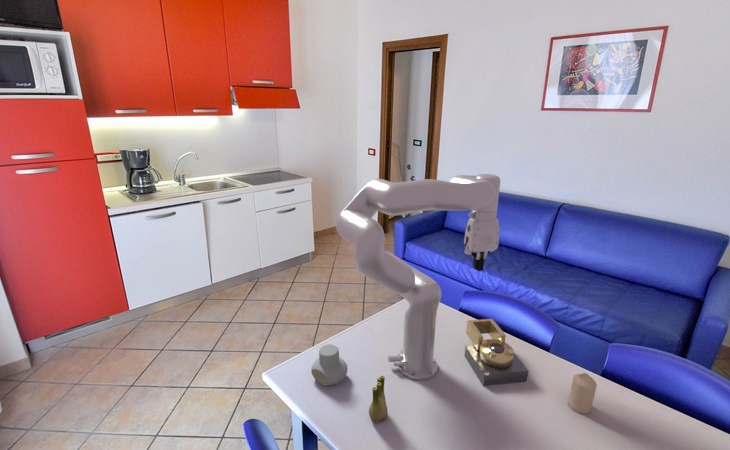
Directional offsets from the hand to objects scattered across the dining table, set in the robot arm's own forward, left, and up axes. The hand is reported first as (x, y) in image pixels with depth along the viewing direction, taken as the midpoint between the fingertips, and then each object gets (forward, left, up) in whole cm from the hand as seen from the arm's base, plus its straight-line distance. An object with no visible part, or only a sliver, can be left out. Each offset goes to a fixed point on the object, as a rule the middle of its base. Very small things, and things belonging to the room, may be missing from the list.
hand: (477, 269), depth 119 cm
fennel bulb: (-37, -26, -29) cm, 54 cm away
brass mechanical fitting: (+3, -8, -25) cm, 26 cm away
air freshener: (-49, -9, -29) cm, 58 cm away
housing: (+3, -12, -29) cm, 32 cm away
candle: (+19, -30, -29) cm, 46 cm away
